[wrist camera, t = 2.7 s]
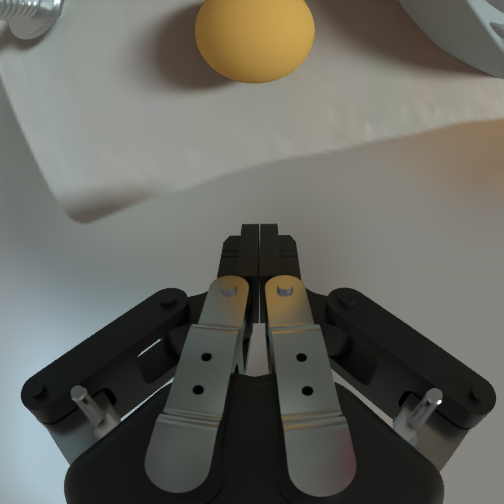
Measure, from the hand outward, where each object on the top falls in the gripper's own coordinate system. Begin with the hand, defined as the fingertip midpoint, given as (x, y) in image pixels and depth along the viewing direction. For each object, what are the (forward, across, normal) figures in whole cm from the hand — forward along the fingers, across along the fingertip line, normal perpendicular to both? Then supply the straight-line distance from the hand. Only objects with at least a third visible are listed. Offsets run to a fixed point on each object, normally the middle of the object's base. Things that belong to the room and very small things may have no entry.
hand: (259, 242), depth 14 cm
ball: (+6, 0, -9) cm, 11 cm away
